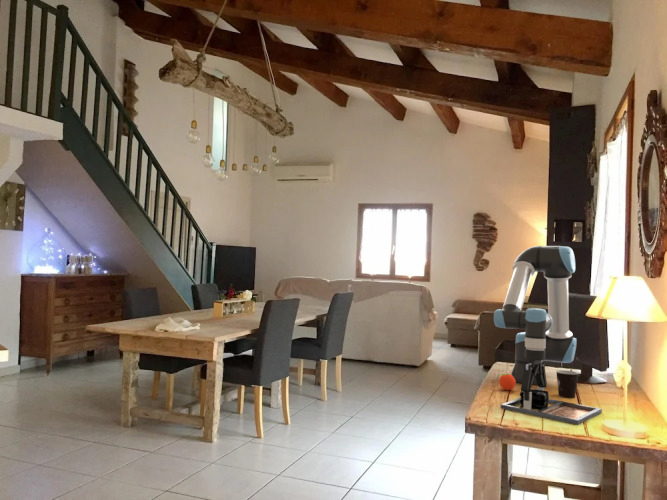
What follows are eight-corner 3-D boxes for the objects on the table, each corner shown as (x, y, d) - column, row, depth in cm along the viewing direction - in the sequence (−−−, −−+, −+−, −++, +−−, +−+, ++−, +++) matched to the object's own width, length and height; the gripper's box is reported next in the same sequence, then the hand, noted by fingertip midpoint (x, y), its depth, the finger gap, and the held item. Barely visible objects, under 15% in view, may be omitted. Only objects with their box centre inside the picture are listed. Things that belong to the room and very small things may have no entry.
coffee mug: (557, 392, 244) (558, 369, 244) (579, 395, 240) (579, 372, 240) (553, 398, 234) (553, 373, 234) (575, 401, 230) (576, 376, 230)
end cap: (548, 407, 219) (549, 389, 219) (545, 411, 212) (546, 393, 212) (521, 403, 223) (522, 386, 223) (518, 407, 217) (518, 389, 217)
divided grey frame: (528, 398, 232) (528, 394, 232) (601, 412, 212) (601, 408, 212) (500, 408, 214) (500, 404, 214) (577, 424, 195) (577, 420, 195)
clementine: (496, 390, 245) (496, 374, 245) (496, 387, 252) (497, 371, 252) (515, 392, 242) (515, 375, 243) (515, 389, 249) (516, 372, 249)
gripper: (538, 345, 229) (536, 400, 229) (512, 350, 212) (510, 409, 212) (556, 347, 224) (555, 403, 224) (531, 352, 207) (530, 413, 207)
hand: (533, 406), depth 218 cm, fingers open, 10 cm apart
